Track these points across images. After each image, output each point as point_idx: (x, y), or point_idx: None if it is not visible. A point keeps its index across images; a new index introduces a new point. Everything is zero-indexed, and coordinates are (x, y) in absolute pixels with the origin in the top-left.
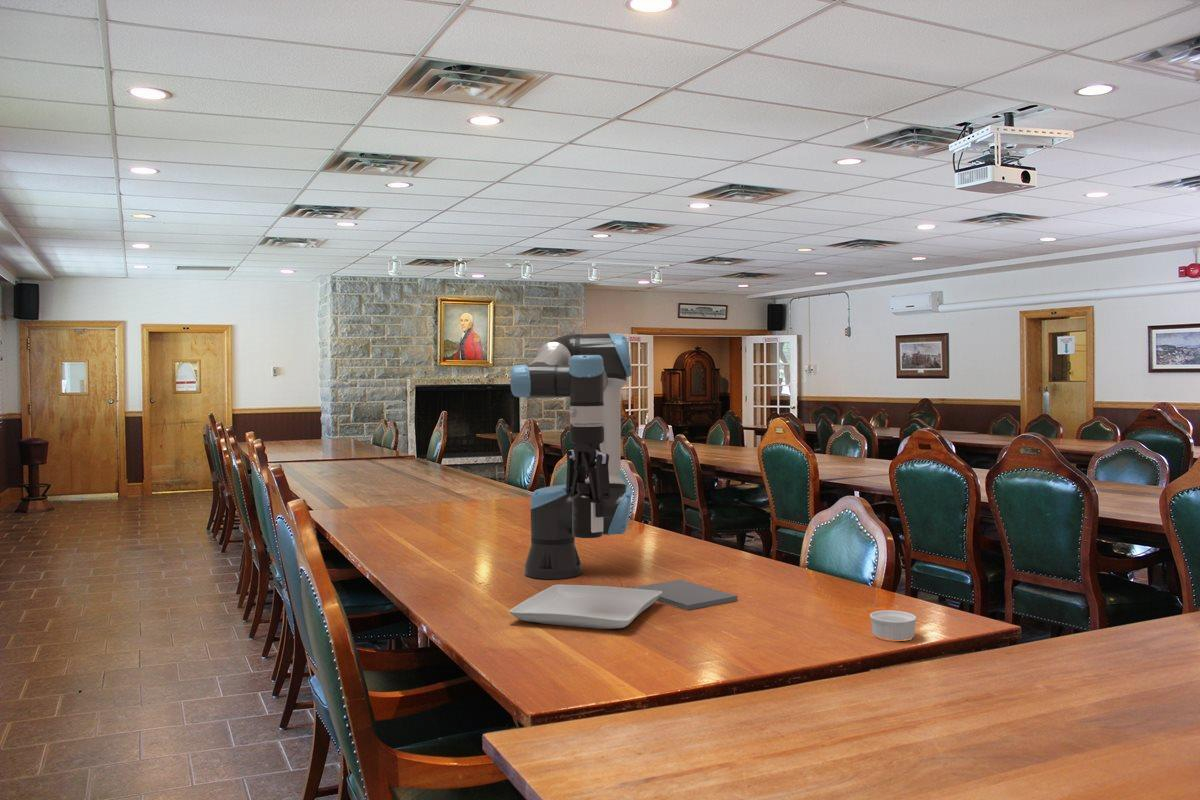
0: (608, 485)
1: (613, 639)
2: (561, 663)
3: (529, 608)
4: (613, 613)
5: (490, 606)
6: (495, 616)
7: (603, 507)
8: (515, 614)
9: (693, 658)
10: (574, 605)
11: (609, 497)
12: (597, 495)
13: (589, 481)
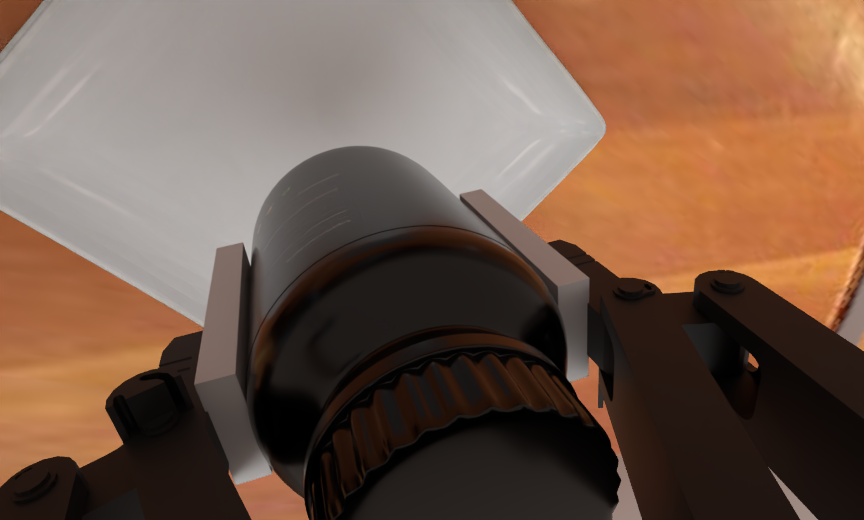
0: (852, 359)
1: (588, 173)
2: None
3: None
4: (377, 63)
5: (84, 399)
6: None
7: (608, 272)
8: None
9: (807, 60)
10: (201, 149)
11: (745, 284)
12: (552, 344)
13: (429, 510)
